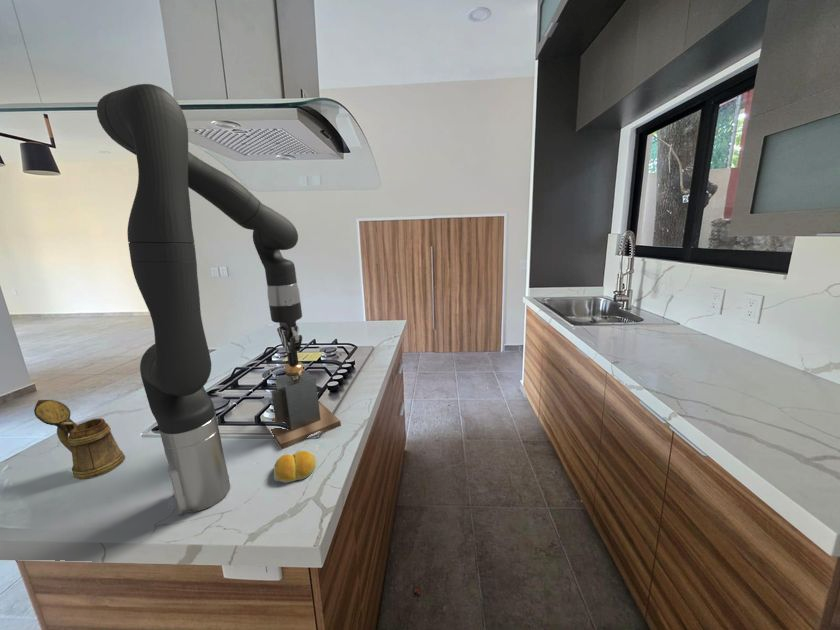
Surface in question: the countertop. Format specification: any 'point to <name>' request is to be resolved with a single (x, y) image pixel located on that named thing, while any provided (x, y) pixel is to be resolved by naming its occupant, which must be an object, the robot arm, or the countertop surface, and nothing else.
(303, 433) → the serving board
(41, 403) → the wooden mug
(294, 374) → the plunger
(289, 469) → the bread roll
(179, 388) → the robot arm
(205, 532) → the countertop surface
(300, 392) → the block
